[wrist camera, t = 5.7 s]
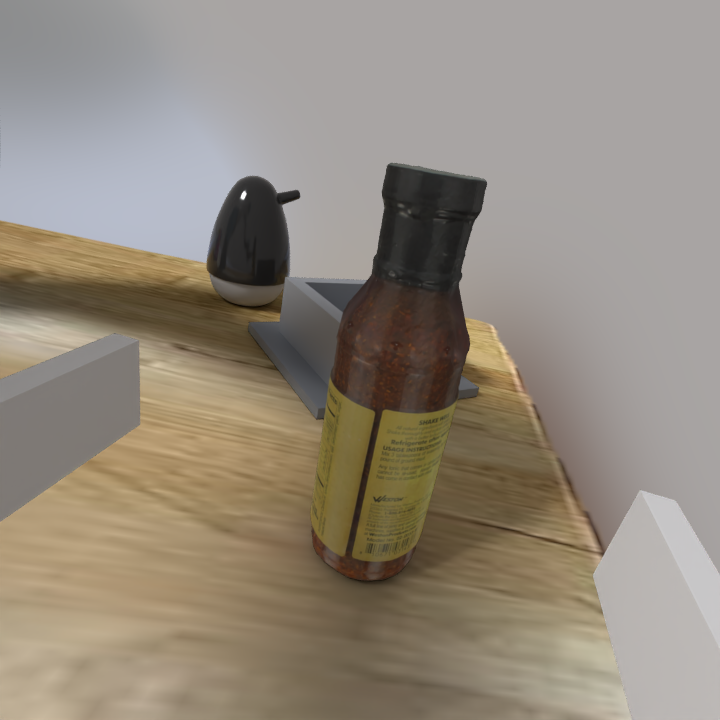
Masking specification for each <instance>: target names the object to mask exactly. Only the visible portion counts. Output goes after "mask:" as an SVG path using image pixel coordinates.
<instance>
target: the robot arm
mask: <svg viewBox="0 0 720 720" xmlns="http://www.w3.org/2000/svg"><path fill="white" fill-rule="evenodd" d="M139 425H140V376H139V340H136V339H133V338H130V337H126V336H123V335H120V334H116V333H114V334H112V335H109V336H107V337H104V338H102V339H99V340H97V341H94V342H92V343H89V344H87V345H84V346H82V347H79V348H77V349H74V350H72V351H69V352H67V353H64V354H62V355H59V356H57V357H54V358H52V359H50V360H47V361H45V362H42V363H40V364H37V365H35V366H32V367H30V368H27V369H25V370H22V371H20V372H17V373H15V374H12V375H10V376H7V377H5V378H2V379H0V522H1V521H2V520H4V519H5V518H6V517H8V516H9V515H11V514H12V513H14V512H15V511H16V510H18V509H19V508H21V507H22V506H24V505H25V504H27V503H28V502H29V501H31V500H32V499H34V498H35V497H37V496H38V495H39V494H41V493H42V492H44V491H45V490H47V489H48V488H50V487H51V486H52V485H54V484H55V483H57V482H58V481H60V480H61V479H62V478H64V477H65V476H67V475H68V474H70V473H71V472H73V471H74V470H75V469H77V468H78V467H80V466H81V465H83V464H84V463H85V462H87V461H88V460H90V459H91V458H93V457H94V456H96V455H97V454H98V453H100V452H101V451H103V450H104V449H106V448H107V447H108V446H110V445H111V444H113V443H114V442H116V441H117V440H119V439H120V438H121V437H123V436H124V435H126V434H127V433H129V432H130V431H131V430H133V429H134V428H136V427H137V426H139ZM593 578H594V581H595V585H596V589H597V593H598V596H599V600H600V604H601V607H602V611H603V615H604V618H605V622H606V626H607V629H608V633H609V637H610V640H611V644H612V648H613V651H614V655H615V659H616V662H617V666H618V670H619V674H620V677H621V681H622V685H623V688H624V692H625V696H626V699H627V703H628V707H629V710H630V714H631V718H632V720H720V574H719V572H718V571H717V569H716V567H715V566H714V564H713V562H712V561H711V559H710V557H709V556H708V554H707V552H706V551H705V549H704V547H703V546H702V544H701V542H700V540H699V539H698V537H697V536H696V534H695V532H694V530H693V529H692V527H691V525H690V524H689V522H688V520H687V519H686V517H685V515H684V514H683V512H682V511H681V509H680V507H679V505H678V504H677V502H676V501H675V500H672V499H669V498H666V497H662V496H659V495H656V494H652V493H649V492H645V491H642V490H640V491H639V493H638V494H637V496H636V498H635V500H634V502H633V503H632V505H631V507H630V509H629V511H628V512H627V514H626V516H625V518H624V520H623V521H622V523H621V525H620V527H619V529H618V530H617V532H616V534H615V536H614V538H613V539H612V541H611V543H610V545H609V547H608V548H607V550H606V552H605V554H604V556H603V558H602V559H601V561H600V563H599V565H598V567H597V568H596V570H595V572H594V574H593Z"/></svg>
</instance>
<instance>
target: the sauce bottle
mask: <svg viewBox="0 0 720 720" xmlns="http://www.w3.org/2000/svg"><path fill="white" fill-rule="evenodd" d="M486 187H487V182H486V180H485V179H481V178H478V177H473V176H465V175H459V174H454V173H449V172H443V171H436V170H432V169H427V168H423V167H420V166H410V165H405V164H398V163H390V164H388V166H387V169H386V175H385V179H384V183H383V189H382V197H383V201H384V213H383V219H382V226H381V231H380V236H379V243H378V250H377V254H376V255H375V257H374V259H373V269H372V275H371V276H370V278H369V279H368V280H367V281H366V282H365V283H364V285H363V286H362V287H361V288H360V290H359V291H358V292H357V293H356V294H355V295H354V296H353V298H352V299H351V300H350V301H349V302H348V304H347V306H346V308H345V309H344V311H343V314H342V318H341V322H340V326H339V329H338V333H337V336H336V338H337V345H336V353H335V358H334V366H333V368H332V369H331V372H330V379H329V386H328V393H327V401H326V408H325V415H324V423H323V430H322V437H321V444H320V451H319V458H318V464H317V471H316V478H315V484H314V491H313V498H312V505H311V510H310V516H311V522H312V537H313V546H314V549H315V551H316V553H317V554H318V555H319V556H320V557H321V558H322V559H323V560H324V562H326V563H327V564H328V565H329V566H331V567H332V568H334V569H335V570H336V571H338V572H340V573H341V574H343V575H344V576H347V577H349V578H352V579H356V580H362V581H367V580H368V581H371V580H384V579H387V578H388V577H392V576H394V575H396V574H397V573H398V572H400V571H402V569H403V568H404V567H405V566H406V565H407V563H408V562H409V560H410V559H411V557H412V555H413V553H414V550H415V548H416V544H417V542H418V540H419V538H420V536H421V533H422V530H423V525H424V521H425V518H426V514H427V510H428V506H429V503H430V499H431V495H432V492H433V488H434V485H435V481H436V477H437V473H438V470H439V466H440V462H441V458H442V455H443V451H444V447H445V444H446V440H447V437H448V433H449V430H450V426H451V422H452V418H453V415H454V411H455V407H456V404H457V400H458V396H459V385H460V380H461V373H462V371H463V366H464V363H465V360H466V356H467V353H468V351H469V347H470V341H469V340H470V338H469V334H468V331H467V328H466V323H465V318H464V312H463V307H462V301H461V296H460V290H459V281H460V280H461V278H462V273H461V268H462V264H463V260H464V257H465V250H466V247H467V244H468V240H469V237H470V233H471V231H472V226H473V223H474V221H475V219H476V218H477V217H478V215H479V214H480V212H481V210H482V204H483V199H484V194H485V189H486Z"/></svg>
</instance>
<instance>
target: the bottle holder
mask: <svg viewBox="0 0 720 720" xmlns="http://www.w3.org/2000/svg"><path fill="white" fill-rule="evenodd" d="M366 281H367V280H350V279H324V278H296V277H285V283H284V291H283V299H282V307H281V315H280V322H249V326H248V331H249V332H250V334H251V335H252V336H253V338H254V339H255V340H256V341H257V343H258V344H259V345H260V347H261V348H262V349H263V351H264V352H265V353H266V354H267V356H268V357H269V358H270V360H271V361H272V362H273V364H274V365H275V366H276V367H277V369H278V370H279V371H280V373H281V374H282V375H283V376H284V378H285V379H286V380H287V382H288V383H289V384H290V386H291V387H292V388H293V389H294V391H295V392H296V393H297V395H298V396H299V397H300V398H301V400H302V401H303V402H304V404H305V405H306V406H307V408H308V409H309V410H310V411H311V413H312V414H313V415H314V417H315V418H316V419H322V418H324V415H325V408H326V401H327V393H328V386H329V379H330V372H331V369H332V368H333V366H334V358H335V353H336V345H337V338H336V336H337V333H338V329H339V326H340V322H341V318H342V314H343V311H344V309H345V308H346V306H347V304H348V302H349V301H350V300H351V299H352V298H353V296H354V295H355V294H356V293H357V292H358V291H359V290H360V288H361V287H362V286H363V285H364V283H365V282H366ZM478 390H479V387H477V386H476V385H474V384H473V383H472V382H470V381H469V380H467V379H466V378H465V377H463V376H462V375H461V380H460V385H459V396H458V399H461V398H468V397H475V396H477V393H478Z"/></svg>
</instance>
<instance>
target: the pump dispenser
mask: <svg viewBox="0 0 720 720" xmlns="http://www.w3.org/2000/svg"><path fill="white" fill-rule="evenodd" d="M299 198H300V193H299V191H298V190H294V191H288V192H282V193H277V192H276V190H275V188H274V187H273V185H272V184H271V183H270V182H269V181H267V180H266V179H264V178H261V177H258V176H248V177H245V178H242V179H240V180H239V181H238V182H237V183H236V184H235V185H234V186H233V188H232V189H231V191H230V192H229V194H228V196H227V197H226V199H225V201H224V204H223V206H222V207H221V210H220V212H219V214H218V217H217V220H216V222H215V225H214V229H213V232H212V236H211V240H210V245H209V250H208V255H207V271H208V272H209V274H210V279H211V282H212V285H213V287H214V289H215V290H216V292H217V293H218V294H219V295H220V296H221V297H223V298H224V299H226V300H227V301H229V302H231V303H234V304H237V305H242V306H261V305H265V304H268V303H270V302H272V301H273V300H275V299H276V298H277V297H278V296H279V295H280V293H281V292H282V290H283V288H284V283H285V277H289V274H290V273H289V272H290V245H289V235H288V228H287V223H286V218H285V215H284V212H283V208H282V205H283V204H286V203H288V202H292V201H294V200H297V199H299Z"/></svg>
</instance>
